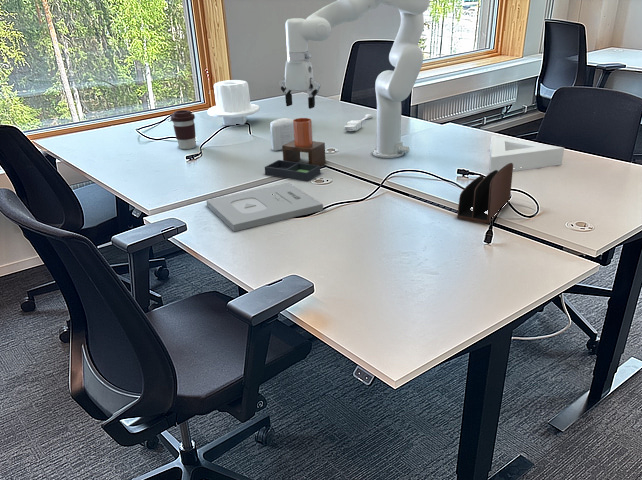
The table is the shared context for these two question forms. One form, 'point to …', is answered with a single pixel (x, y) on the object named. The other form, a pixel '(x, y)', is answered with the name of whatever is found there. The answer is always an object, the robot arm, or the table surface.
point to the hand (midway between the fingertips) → (300, 106)
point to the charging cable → (355, 124)
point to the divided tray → (292, 170)
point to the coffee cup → (184, 128)
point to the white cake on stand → (232, 102)
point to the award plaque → (263, 206)
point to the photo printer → (281, 132)
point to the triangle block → (522, 154)
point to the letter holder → (486, 196)
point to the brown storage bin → (314, 152)
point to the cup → (302, 132)
